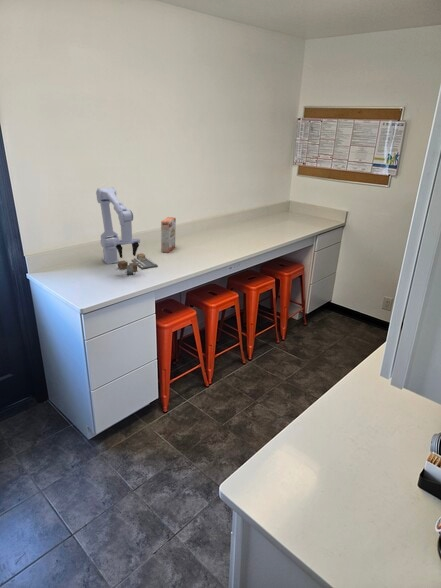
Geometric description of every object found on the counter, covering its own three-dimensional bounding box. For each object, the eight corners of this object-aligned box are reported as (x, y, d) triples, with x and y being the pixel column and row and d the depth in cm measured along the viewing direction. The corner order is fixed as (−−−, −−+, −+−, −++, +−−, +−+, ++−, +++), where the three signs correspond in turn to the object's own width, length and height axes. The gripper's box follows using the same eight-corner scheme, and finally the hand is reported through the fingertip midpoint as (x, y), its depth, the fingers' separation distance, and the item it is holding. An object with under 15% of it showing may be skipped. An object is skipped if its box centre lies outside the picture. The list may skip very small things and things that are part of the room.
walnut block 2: (129, 269, 232) (129, 263, 231) (136, 269, 234) (136, 262, 232) (130, 271, 229) (130, 265, 227) (137, 271, 230) (137, 264, 229)
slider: (136, 259, 245) (136, 253, 244) (142, 258, 248) (142, 252, 246) (139, 261, 242) (139, 255, 241) (145, 260, 245) (145, 254, 243)
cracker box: (169, 253, 263) (169, 222, 254) (161, 252, 264) (160, 221, 255) (176, 247, 275) (176, 217, 267) (167, 246, 276) (167, 216, 268)
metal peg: (126, 273, 226) (125, 265, 224) (132, 272, 228) (131, 264, 226) (128, 275, 223) (127, 267, 221) (134, 274, 225) (134, 266, 223)
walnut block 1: (118, 268, 234) (117, 261, 232) (124, 266, 236) (123, 260, 235) (121, 270, 231) (121, 263, 230) (127, 268, 234) (127, 262, 232)
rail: (131, 261, 245) (131, 257, 244) (146, 258, 250) (146, 255, 249) (142, 269, 233) (142, 265, 232) (157, 266, 238) (157, 263, 237)
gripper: (116, 236, 210) (117, 260, 216) (141, 233, 218) (142, 256, 223) (111, 232, 216) (113, 256, 221) (136, 230, 223) (137, 253, 229)
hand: (127, 256), depth 223 cm, fingers open, 7 cm apart
